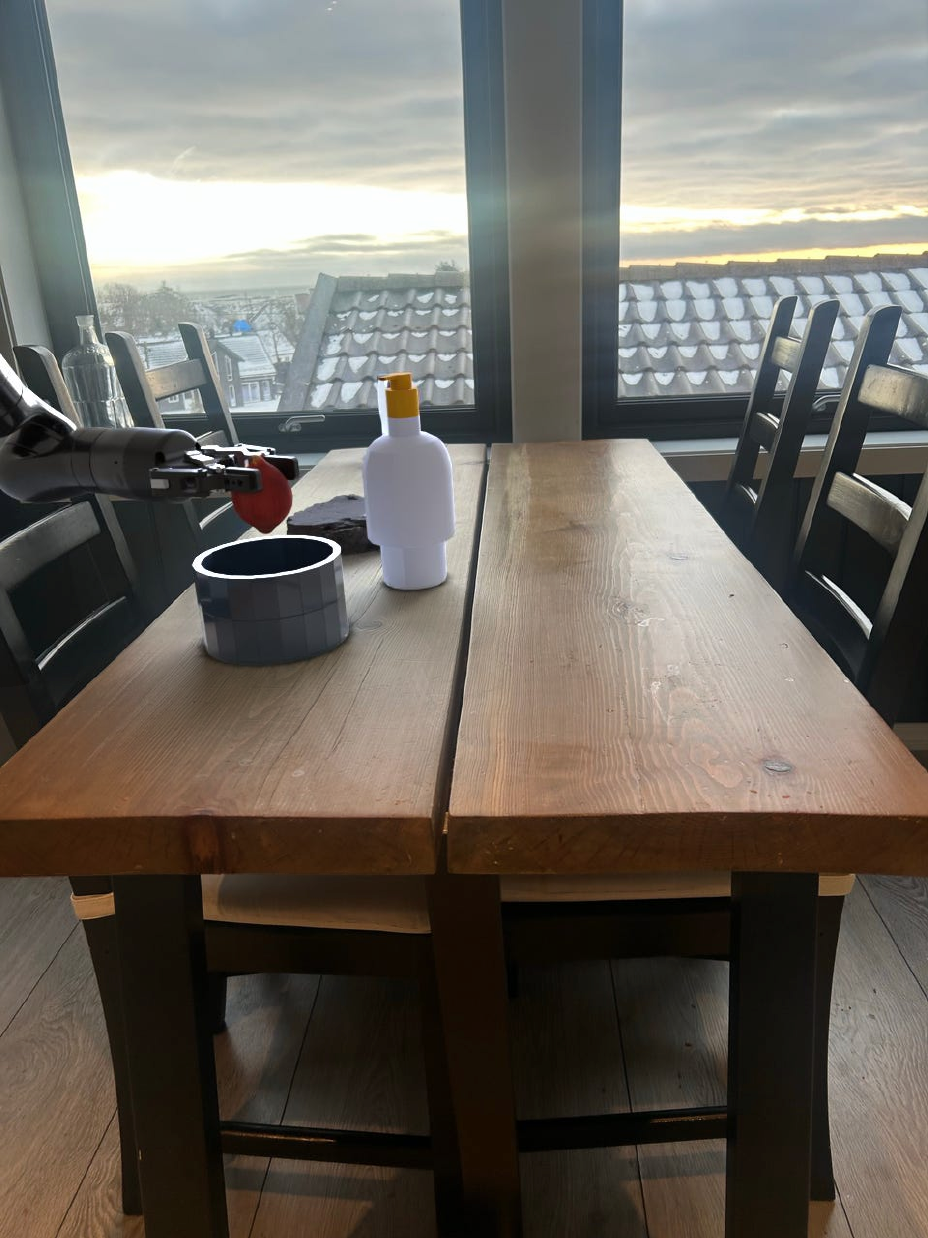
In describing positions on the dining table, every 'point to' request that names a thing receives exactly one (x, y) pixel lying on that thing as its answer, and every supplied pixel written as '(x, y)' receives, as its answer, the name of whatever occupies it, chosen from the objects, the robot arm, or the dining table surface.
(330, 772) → the dining table surface
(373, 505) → the soap bottle
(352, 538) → the rock sample
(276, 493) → the onion
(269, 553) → the pot
